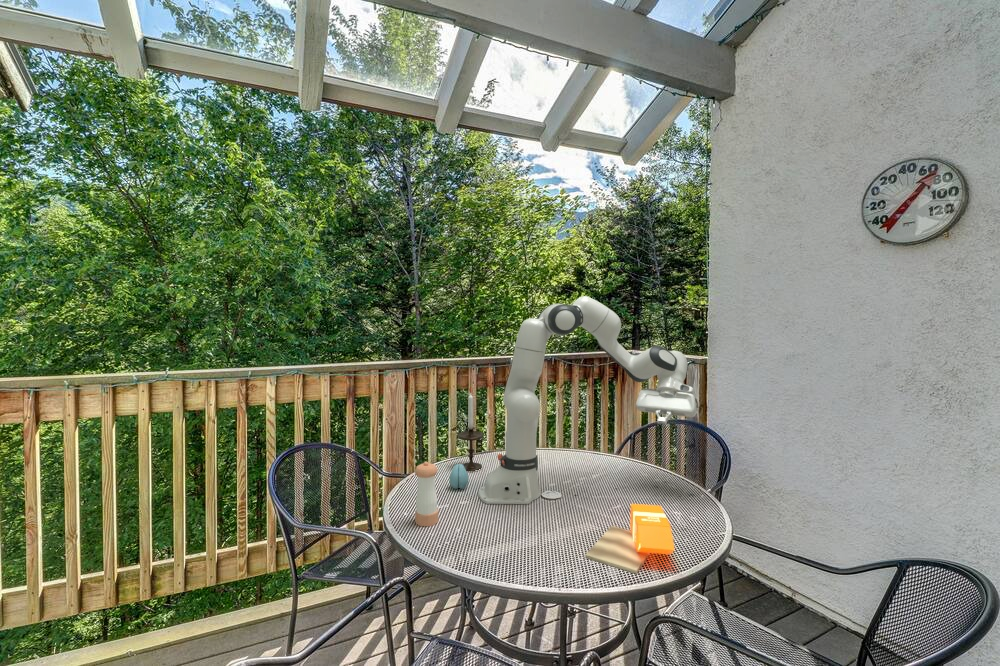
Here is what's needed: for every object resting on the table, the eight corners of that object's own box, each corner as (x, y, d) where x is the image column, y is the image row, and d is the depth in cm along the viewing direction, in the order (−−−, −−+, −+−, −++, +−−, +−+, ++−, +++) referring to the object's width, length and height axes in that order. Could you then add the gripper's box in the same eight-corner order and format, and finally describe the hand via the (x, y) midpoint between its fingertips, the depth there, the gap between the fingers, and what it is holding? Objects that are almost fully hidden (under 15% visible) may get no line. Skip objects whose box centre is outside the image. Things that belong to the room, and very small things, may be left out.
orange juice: (630, 503, 142) (640, 532, 122) (660, 505, 141) (675, 535, 121) (630, 528, 142) (639, 562, 123) (660, 531, 141) (675, 565, 121)
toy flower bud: (469, 459, 184) (468, 467, 172) (469, 481, 184) (468, 491, 172) (451, 459, 184) (448, 467, 172) (451, 482, 184) (448, 492, 172)
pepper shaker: (431, 528, 144) (430, 467, 143) (410, 524, 147) (409, 464, 146) (442, 518, 151) (441, 459, 150) (422, 514, 154) (421, 457, 153)
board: (636, 573, 120) (636, 570, 120) (585, 557, 127) (585, 554, 127) (658, 540, 136) (658, 538, 136) (611, 528, 144) (611, 525, 144)
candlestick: (481, 473, 191) (480, 388, 189) (455, 471, 193) (454, 387, 191) (486, 464, 202) (485, 383, 200) (461, 463, 204) (461, 383, 202)
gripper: (638, 382, 174) (629, 414, 166) (697, 388, 162) (691, 422, 155) (642, 392, 178) (633, 424, 170) (700, 398, 166) (693, 432, 159)
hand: (661, 423), depth 162 cm, fingers closed
